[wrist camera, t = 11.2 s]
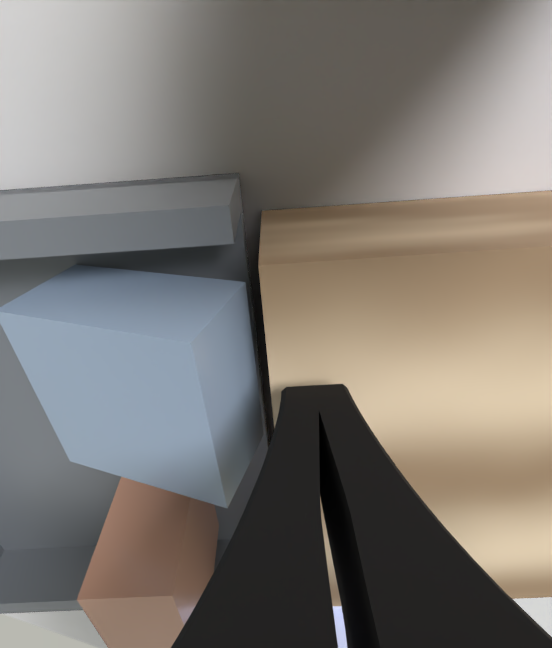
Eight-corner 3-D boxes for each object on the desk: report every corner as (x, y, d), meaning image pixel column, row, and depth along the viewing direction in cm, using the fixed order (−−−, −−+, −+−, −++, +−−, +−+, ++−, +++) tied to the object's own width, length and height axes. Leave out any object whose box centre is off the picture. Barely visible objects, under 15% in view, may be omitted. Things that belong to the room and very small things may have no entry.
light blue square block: (264, 434, 12) (227, 508, 10) (124, 402, 14) (70, 461, 12) (245, 281, 9) (190, 342, 8) (75, 264, 11) (-6, 310, 9)
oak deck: (561, 507, 18) (618, 593, 15) (288, 520, 18) (291, 608, 15) (725, 178, 11) (900, 222, 8) (261, 210, 11) (258, 265, 8)
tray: (278, 534, 19) (279, 601, 17) (2, 547, 19) (-36, 615, 17) (238, 173, 10) (229, 205, 8) (-256, 208, 11) (-404, 250, 8)
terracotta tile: (202, 671, 13) (125, 674, 13) (219, 525, 18) (160, 527, 18) (172, 595, 11) (76, 599, 11) (200, 444, 15) (131, 447, 15)
